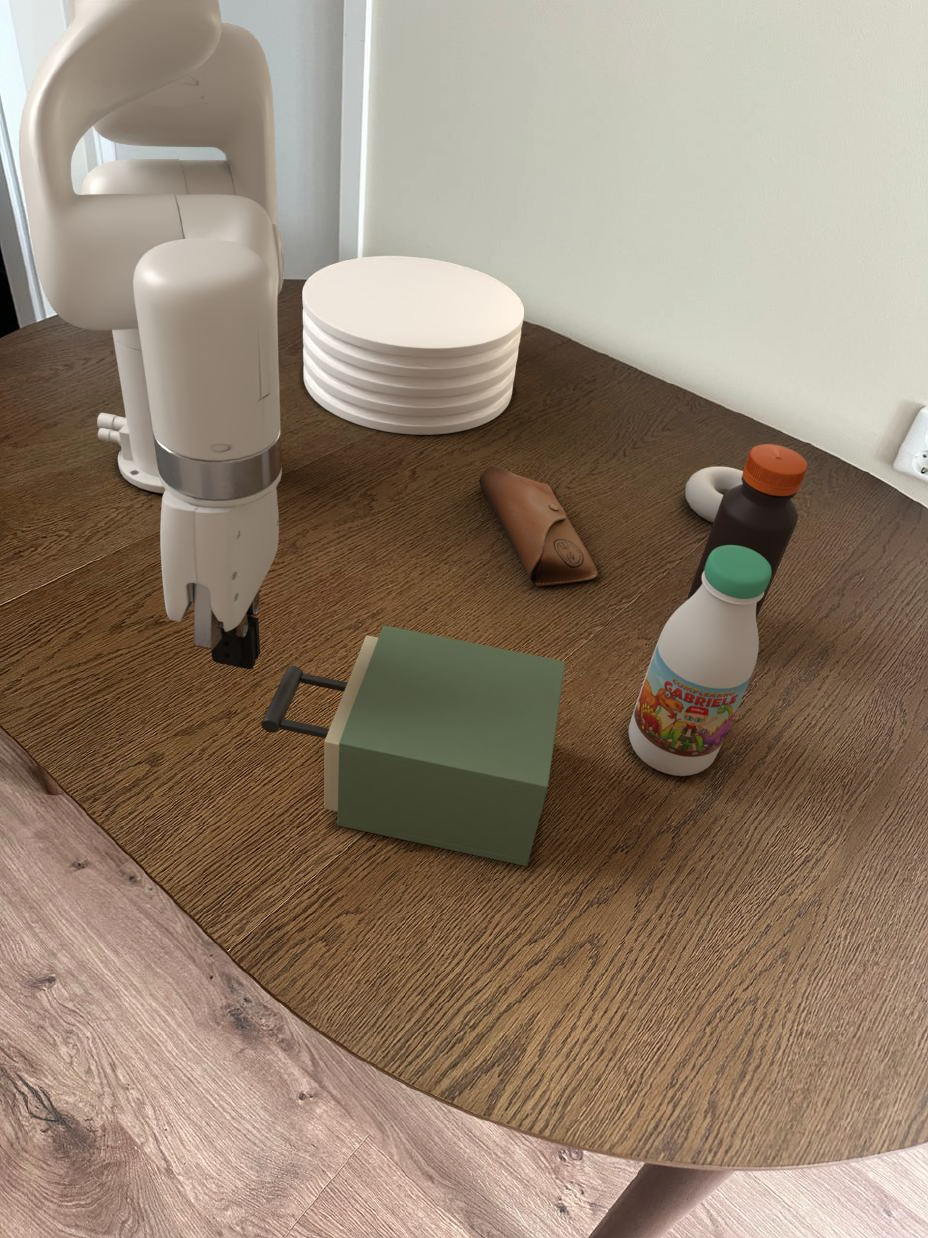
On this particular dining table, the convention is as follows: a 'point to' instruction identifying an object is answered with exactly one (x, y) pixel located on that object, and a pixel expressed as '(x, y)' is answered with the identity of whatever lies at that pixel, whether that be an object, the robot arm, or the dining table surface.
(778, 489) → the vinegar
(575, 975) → the dining table surface
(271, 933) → the dining table surface
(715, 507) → the donut
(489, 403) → the plate stack
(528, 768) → the cabinet
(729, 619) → the milk bottle
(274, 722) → the drawer
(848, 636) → the dining table surface
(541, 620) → the dining table surface
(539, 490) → the sunglasses case
